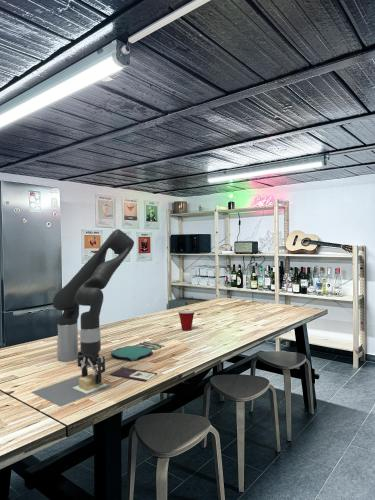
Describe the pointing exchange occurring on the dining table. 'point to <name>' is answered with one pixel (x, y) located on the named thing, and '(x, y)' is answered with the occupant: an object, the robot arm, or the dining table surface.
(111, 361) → the dining table surface
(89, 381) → the oak block
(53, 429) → the dining table surface
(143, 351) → the table tennis paddle
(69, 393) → the rubber mat
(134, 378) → the chocolate bar
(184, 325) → the plastic cup
